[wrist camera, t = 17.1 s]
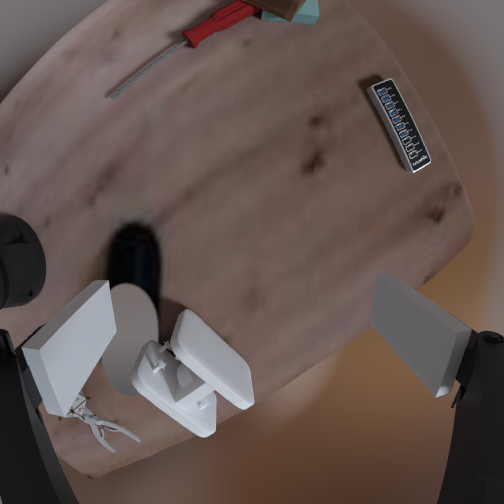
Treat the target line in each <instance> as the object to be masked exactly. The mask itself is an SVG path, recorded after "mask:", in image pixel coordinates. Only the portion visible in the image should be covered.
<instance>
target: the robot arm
mask: <svg viewBox="0 0 504 504" xmlns="http://www.w3.org/2000/svg"><path fill="white" fill-rule="evenodd" d="M45 277H46V263H45V256H44V252H43V249H42V246H41V243H40V241H39V239H38V237H37V235H36V234H35V232H34V231H33V229H32V228H31V227H30V226H29V225H28V224H27V223H26V222H25V221H23V220H21V219H20V218H17V217H13V216H8V217H4V218H0V310H1V309H2V308H9V307H16V306H22V305H25V304H27V303H29V302H30V301H32V300H33V299H34V298H36V297H37V296H38V295H39V293H40V292H41V290H42V288H43V285H44V282H45ZM369 324H370V325H371V326H372V327H373V328H374V329H375V330H376V331H377V332H378V333H379V334H380V335H381V337H382V338H383V339H384V340H385V341H386V342H387V343H388V344H389V345H390V346H391V347H392V349H393V350H394V351H395V352H396V353H397V354H398V355H399V356H400V357H401V358H402V360H403V361H404V362H405V363H406V364H407V365H408V366H409V367H410V369H411V370H412V371H413V372H414V373H415V374H416V375H417V376H418V378H419V379H420V380H421V381H422V382H423V383H424V384H425V385H426V387H427V388H428V389H429V390H430V391H431V392H432V393H433V395H434V396H435V397H438V396H441V395H444V394H447V393H450V392H451V389H452V387H453V384H454V382H455V379H456V380H457V381H458V382H459V383H460V384H461V385H460V387H459V390H458V392H457V394H456V397H455V399H454V402H453V404H452V406H451V408H454V405H455V404H456V412H455V419H454V427H453V433H452V440H451V445H450V450H449V456H448V461H447V465H446V470H445V474H444V478H443V482H442V486H441V490H440V494H439V498H438V501H437V504H504V337H503V336H502V335H500V334H498V333H496V332H492V331H482V332H480V333H477V332H476V331H474V330H473V329H471V328H470V327H468V326H467V325H466V324H464V323H462V322H461V321H460V320H458V319H456V318H455V317H454V316H453V315H451V314H450V313H448V312H446V311H445V310H443V309H442V308H441V307H439V306H438V305H436V304H435V303H433V302H432V301H430V300H429V299H427V298H426V297H424V296H423V295H421V294H420V293H418V292H417V291H415V290H414V289H412V288H411V287H409V286H408V285H406V284H405V283H403V282H402V281H400V280H398V279H397V278H395V277H394V276H392V275H391V274H389V273H383V274H376V277H375V286H374V294H373V301H372V308H371V315H370V321H369ZM116 332H117V329H116V324H115V318H114V313H113V307H112V301H111V295H110V288H109V281H108V280H95V281H93V282H92V283H91V284H90V285H89V286H88V287H86V288H85V289H84V290H83V291H82V292H81V293H79V294H78V295H77V296H76V297H75V298H74V299H73V300H72V301H70V302H69V303H68V304H67V305H66V306H65V307H64V308H63V309H61V310H60V311H59V312H58V313H57V314H56V315H55V316H54V317H53V318H52V319H51V320H49V321H48V322H47V323H46V324H44V325H42V326H40V327H38V328H37V329H36V330H35V331H34V332H33V333H32V334H31V335H30V336H29V337H28V338H27V339H26V340H25V341H24V342H22V343H21V344H20V345H19V346H18V347H17V348H16V349H15V350H14V347H13V344H12V341H11V338H10V335H9V333H8V331H7V330H4V329H0V496H1V500H2V504H79V502H78V501H77V498H76V497H75V495H74V493H73V491H72V489H71V487H70V485H69V483H68V481H67V478H66V476H65V474H64V472H63V470H62V468H61V465H60V463H59V461H58V458H57V456H56V453H55V451H54V448H53V446H52V443H51V441H50V438H49V435H48V433H47V430H46V427H45V424H44V421H43V418H42V415H41V413H40V411H39V409H38V406H39V405H40V403H41V402H42V401H43V403H44V405H45V408H46V410H47V412H48V413H49V414H54V415H58V416H62V417H66V415H67V413H68V411H69V409H70V408H71V406H72V404H73V402H74V401H75V399H76V397H77V396H78V394H79V392H80V390H81V389H82V387H83V385H84V384H85V382H86V380H87V379H88V377H89V375H90V374H91V372H92V370H93V369H94V367H95V365H96V364H97V362H98V361H99V359H100V357H101V356H102V354H103V353H104V351H105V349H106V348H107V346H108V345H109V343H110V341H111V340H112V338H113V337H114V335H115V334H116Z"/></svg>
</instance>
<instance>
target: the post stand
mask: <svg viewBox="0 0 504 504" xmlns="http://www.w3.org/2000/svg"><path fill="white" fill-rule="evenodd" d="M318 18H319V8H318V0H306V2H305V3H304V4H303V6H302V7H301V8H300V10H299V11H298V12H297V14H296V15H295V17H294V18H293V19H292V21H291V22H294V23H303V24H311V25H314V24H315V23H316V21H317V19H318ZM261 20H270V21H283V22H288V21H286V20H284V19H282V18H280V17H278V16H276V15H274V14H272V13H270V12H267V11H265V10H263V9H261Z"/></svg>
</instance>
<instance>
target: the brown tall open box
mask: <svg viewBox="0 0 504 504" xmlns="http://www.w3.org/2000/svg"><path fill="white" fill-rule="evenodd" d="M242 1H244V2H247V3H249V4H251V5H254V6H256V7H258V8H261V9H263V10H265V11H267V12H270V13H272V14H274V15H276V16H278V17H280V18H282V19H284V20H286V21H288V22H291V21H292V19H293V18H294V17H295V15H296V14H297V12H298V11H299V10H300V8H301V7H302V6H303V4H304V3H305V2H306V0H242Z"/></svg>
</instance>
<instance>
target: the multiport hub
mask: <svg viewBox="0 0 504 504" xmlns="http://www.w3.org/2000/svg"><path fill="white" fill-rule="evenodd" d="M367 93H368V94H369V96H370V98H371V100H372V102H373V103H374V105H375V107H376V109H377V111H378V113H379V115H380V117H381V119H382V121H383V123H384V125H385V127H386V129H387V131H388V133H389V135H390V137H391V139H392V141H393V143H394V145H395V147H396V150H397V152H398V154H399V156H400V158H401V161H402V163H403V165H404V168H405V170H406V172H416V171H418V170H419V169H421V168H423V167H424V166H426V165H428V164H429V163H431V159H430V156H429V154H428V151H427V149H426V146H425V144H424V142H423V140H422V137H421V135H420V133H419V131H418V128H417V126H416V124H415V122H414V120H413V118H412V116H411V114H410V112H409V110H408V108H407V106H406V104H405V102H404V100H403V98H402V96H401V94H400V92H399V90H398V88H397V87H396V85H395V83H394V81H393V80H392V79H391V78H389V79H387V80H384V81H382V82H379V83H377V84H374V85H372V86H370V87H369V88H367Z"/></svg>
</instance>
